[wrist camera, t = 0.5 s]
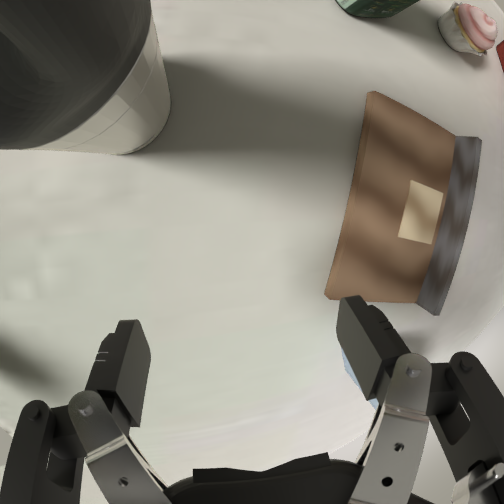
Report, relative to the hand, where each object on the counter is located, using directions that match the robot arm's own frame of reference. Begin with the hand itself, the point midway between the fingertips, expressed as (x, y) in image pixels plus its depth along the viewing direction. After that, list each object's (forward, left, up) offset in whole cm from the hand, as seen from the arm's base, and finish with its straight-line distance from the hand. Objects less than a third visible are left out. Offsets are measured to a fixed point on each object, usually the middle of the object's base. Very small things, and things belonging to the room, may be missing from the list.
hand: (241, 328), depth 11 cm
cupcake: (-17, +44, -19) cm, 50 cm away
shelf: (+6, +23, -18) cm, 30 cm away
